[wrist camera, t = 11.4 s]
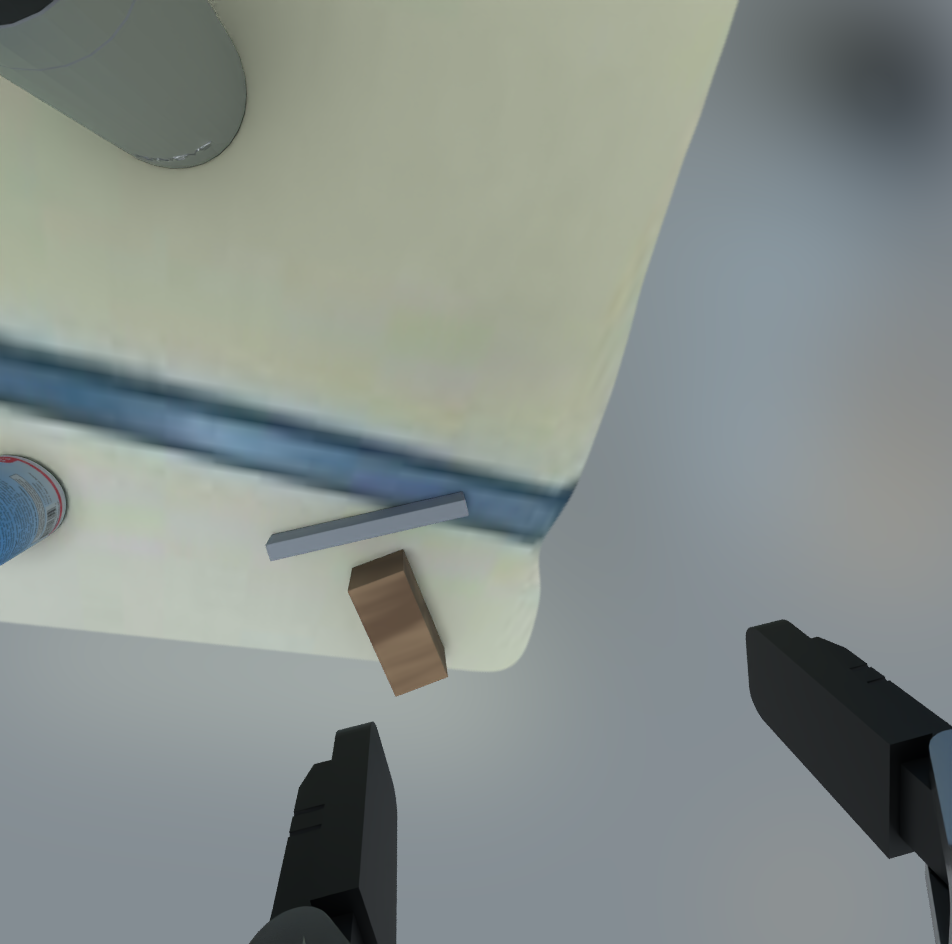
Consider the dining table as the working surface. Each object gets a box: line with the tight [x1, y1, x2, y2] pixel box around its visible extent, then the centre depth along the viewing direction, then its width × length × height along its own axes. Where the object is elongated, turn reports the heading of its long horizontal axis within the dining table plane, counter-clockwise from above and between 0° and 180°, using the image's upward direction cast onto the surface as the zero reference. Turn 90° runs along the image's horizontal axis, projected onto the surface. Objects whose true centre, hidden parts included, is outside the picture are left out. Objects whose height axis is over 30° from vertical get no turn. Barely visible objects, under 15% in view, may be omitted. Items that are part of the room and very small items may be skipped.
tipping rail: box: [266, 492, 469, 561], centre depth 41 cm, size 1×14×2 cm, turn 102°
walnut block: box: [348, 549, 448, 696], centre depth 42 cm, size 4×4×9 cm
